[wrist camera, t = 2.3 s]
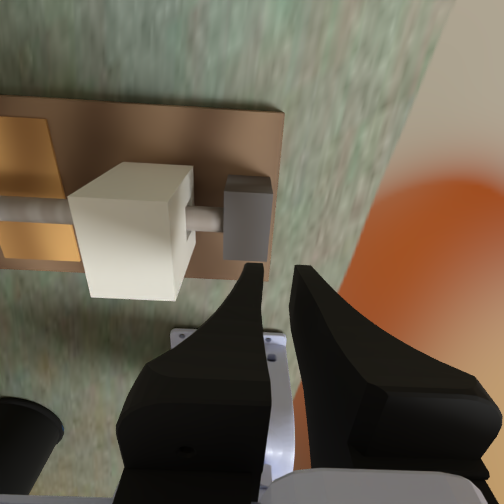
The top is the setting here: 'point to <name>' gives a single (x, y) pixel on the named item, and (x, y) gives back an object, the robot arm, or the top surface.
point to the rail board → (140, 151)
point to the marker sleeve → (135, 230)
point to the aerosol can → (25, 443)
